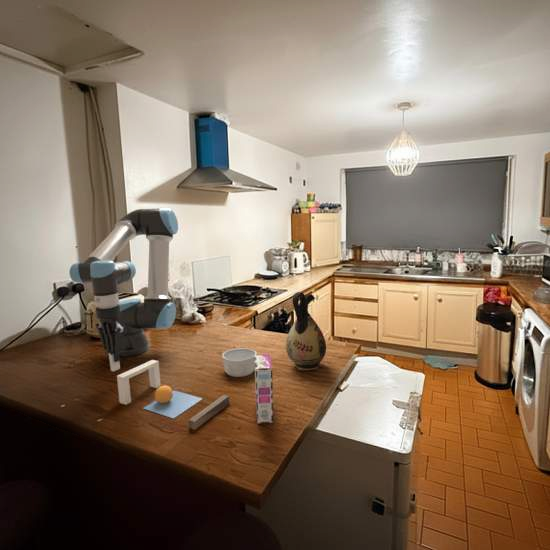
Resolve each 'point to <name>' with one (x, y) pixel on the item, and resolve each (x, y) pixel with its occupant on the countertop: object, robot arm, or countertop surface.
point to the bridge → (124, 377)
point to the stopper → (208, 412)
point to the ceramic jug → (305, 336)
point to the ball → (163, 394)
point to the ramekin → (239, 362)
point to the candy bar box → (263, 389)
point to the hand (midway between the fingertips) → (115, 369)
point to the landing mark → (174, 405)
